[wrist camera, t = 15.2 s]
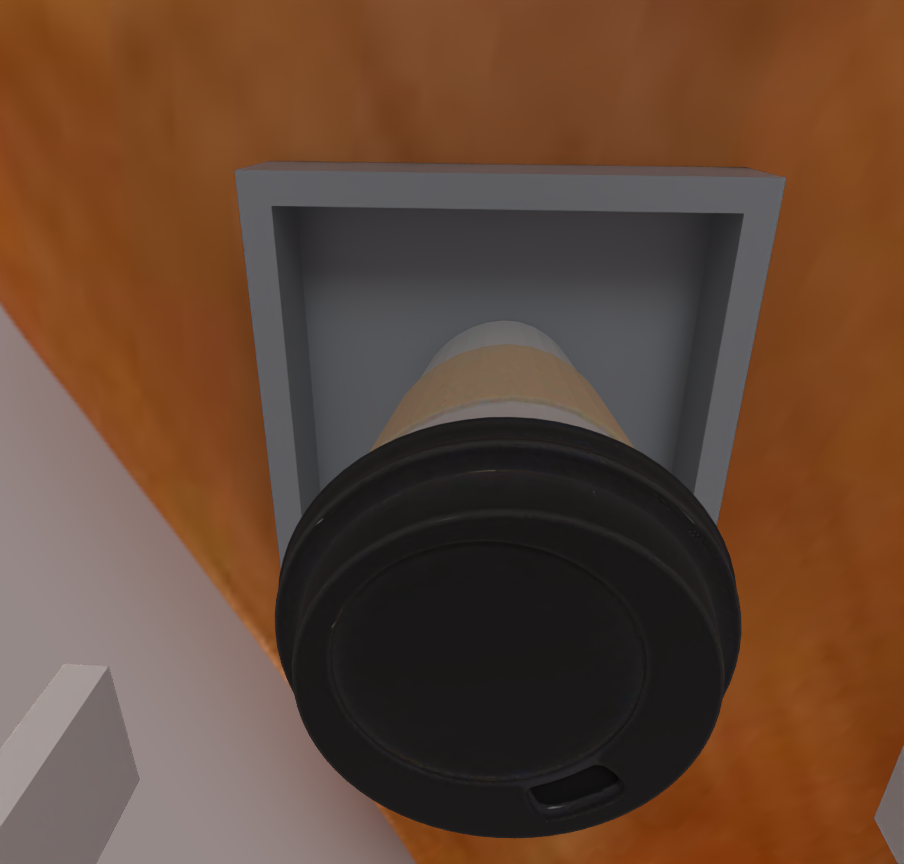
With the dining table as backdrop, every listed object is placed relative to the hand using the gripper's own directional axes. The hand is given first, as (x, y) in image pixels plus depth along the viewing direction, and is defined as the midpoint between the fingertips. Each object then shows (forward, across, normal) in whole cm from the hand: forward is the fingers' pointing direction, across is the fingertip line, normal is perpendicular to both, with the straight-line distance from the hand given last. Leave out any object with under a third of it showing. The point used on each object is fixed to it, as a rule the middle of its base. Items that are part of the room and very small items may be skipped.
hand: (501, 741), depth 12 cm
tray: (+17, 0, 0) cm, 17 cm away
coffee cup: (+16, 0, 0) cm, 16 cm away
